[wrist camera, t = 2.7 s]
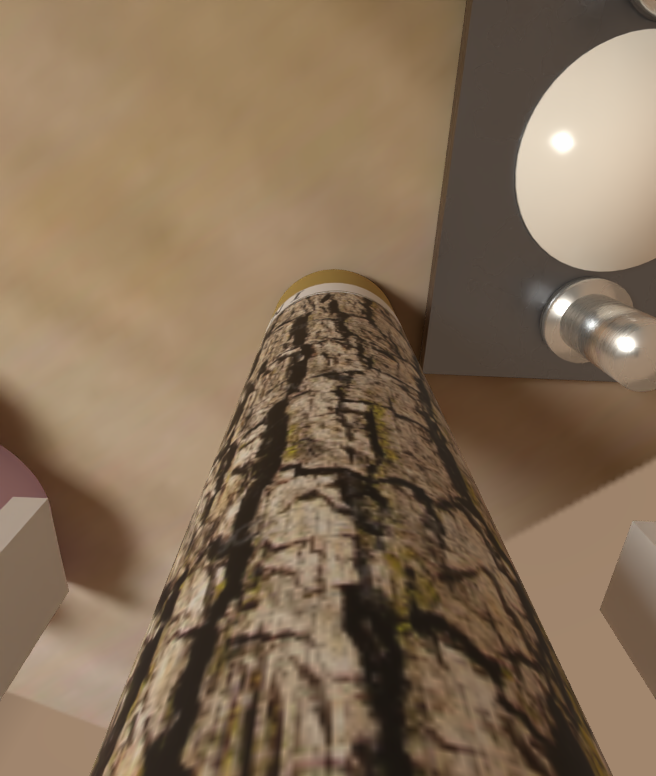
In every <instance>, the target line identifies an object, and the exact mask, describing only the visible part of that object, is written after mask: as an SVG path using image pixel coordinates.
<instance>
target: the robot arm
mask: <svg viewBox="0 0 656 776" xmlns="http://www.w3.org/2000/svg"><path fill="white" fill-rule="evenodd" d="M68 592H69V589H68V585H67V580H66V576H65V571H64V567H63V563H62V558H61V554H60V549H59V545H58V540H57V536H56V532H55V527H54V523H53V518H52V514H51V509H50V505H49V501H48V498H30V497H12V498H11V499H10V500H9V502H8V503H7V504H6V505H5V506H4V507H3V508H2V509H1V510H0V700H1V698H2V697H3V695H4V694H5V692H6V691H7V689H8V687H9V686H10V684H11V683H12V681H13V679H14V678H15V676H16V675H17V673H18V671H19V670H20V668H21V667H22V665H23V663H24V662H25V660H26V659H27V657H28V656H29V654H30V652H31V651H32V649H33V648H34V646H35V644H36V643H37V641H38V640H39V638H40V636H41V635H42V633H43V632H44V630H45V628H46V627H47V625H48V624H49V622H50V620H51V619H52V617H53V616H54V614H55V612H56V611H57V609H58V608H59V606H60V604H61V603H62V601H63V600H64V598H65V597H66V595H67V593H68ZM600 611H601V613H602V614H603V616H604V617H605V619H606V620H607V622H608V624H609V625H610V627H611V628H612V630H613V631H614V633H615V635H616V636H617V638H618V640H619V641H620V643H621V645H622V646H623V648H624V649H625V651H626V652H627V654H628V656H629V657H630V659H631V660H632V662H633V664H634V665H635V667H636V668H637V670H638V672H639V673H640V675H641V677H642V678H643V680H644V681H645V683H646V685H647V686H648V688H649V689H650V691H651V692H652V694H653V696H654V697H655V699H656V522H653V521H632V524H631V527H630V530H629V532H628V535H627V537H626V540H625V543H624V546H623V548H622V551H621V554H620V556H619V559H618V562H617V565H616V567H615V570H614V573H613V575H612V578H611V581H610V584H609V586H608V589H607V592H606V594H605V597H604V600H603V602H602V605H601V608H600Z"/></svg>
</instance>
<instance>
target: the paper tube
mask: <svg viewBox="0 0 656 776" xmlns="http://www.w3.org/2000/svg"><path fill="white" fill-rule="evenodd" d="M401 327H402V326H401V324H400V322H399V320H398V318H397V317H396V315H395V313H394V311H393V309H392V306H391V304H390V302H389V300H388V299H387V297H386V296H385V294H384V293H383V292H382V291H381V290H380V289H379V288H378V287H377V286H376V285H375V284H374V283H373V282H371V281H370V280H368V279H367V278H365V277H363V276H361V275H359V274H356V273H354V272H350V271H346V270H335V269H332V270H323V271H318V272H315V273H312V274H309V275H307V276H305V277H303V278H301V279H300V280H298V281H297V282H295V283H294V284H293V285H292V286H291V287H290V288H289V289H288V290H287V291H286V292H285V293H284V295H283V296H282V297H281V299H280V301H279V302H278V304H277V307H276V309H275V311H274V314H273V316H272V319H271V321H270V323H269V325H268V328H267V330H266V331H267V332H266V333H265V335H264V338H263V340H262V343H261V345H260V348H259V350H258V353H257V355H256V358H255V360H254V363H253V365H252V368H251V370H250V373H249V375H248V378H247V380H246V383H245V385H244V388H243V390H242V393H241V395H240V398H239V401H238V403H237V406H236V408H235V411H234V413H233V416H232V418H231V421H230V423H229V426H228V428H227V431H226V433H225V436H224V438H223V441H222V443H221V446H220V448H219V451H218V453H217V456H216V458H215V461H214V463H213V466H212V468H211V471H210V473H209V476H208V478H207V481H206V484H205V486H204V489H203V491H202V494H201V496H200V499H199V501H198V504H197V506H196V509H195V511H194V514H193V516H192V519H191V521H190V524H189V526H188V529H187V531H186V534H185V536H184V539H183V541H182V544H181V546H180V549H179V551H178V554H177V556H176V559H175V562H174V564H173V567H172V569H171V572H170V574H169V577H168V579H167V582H166V584H165V587H164V589H163V592H162V594H161V597H160V599H159V602H158V604H157V607H156V609H155V612H154V614H153V617H152V619H151V622H150V624H149V627H148V629H147V632H146V634H145V637H144V639H143V642H142V645H141V647H140V650H139V652H138V655H137V657H136V660H135V662H134V665H133V667H132V670H131V672H130V675H129V677H128V680H127V682H126V685H125V687H124V690H123V692H122V695H121V697H120V700H119V702H118V705H117V707H116V710H115V712H114V715H113V717H112V720H111V722H110V725H109V728H108V730H107V733H106V735H105V738H104V740H103V743H102V745H101V748H100V750H99V753H98V756H97V758H96V760H95V763H94V765H93V768H92V770H91V773H90V776H613V775H612V773H611V771H610V769H609V767H608V764H607V762H606V760H605V758H604V756H603V754H602V752H601V749H600V747H599V745H598V743H597V741H596V739H595V737H594V735H593V732H592V730H591V728H590V726H589V724H588V722H587V720H586V718H585V716H584V713H583V711H582V709H581V707H580V705H579V703H578V701H577V698H576V696H575V694H574V692H573V690H572V688H571V686H570V683H569V681H568V680H567V677H566V675H565V673H564V671H563V669H562V667H561V664H560V662H559V660H558V658H557V656H556V654H555V652H554V650H553V647H552V645H551V643H550V641H549V639H548V637H547V635H546V633H545V630H544V628H543V626H542V624H541V622H540V620H539V618H538V616H537V613H536V611H535V609H534V607H533V605H532V603H531V601H530V599H529V596H528V594H527V592H526V590H525V588H524V586H523V584H522V581H521V579H520V577H519V575H518V573H517V571H516V569H515V567H514V565H513V562H512V561H511V558H510V556H509V554H508V552H507V550H506V548H505V545H504V543H503V541H502V539H501V537H500V535H499V533H498V530H497V528H496V526H495V524H494V522H493V520H492V518H491V516H490V513H489V511H488V509H487V507H486V505H485V503H484V501H483V499H482V496H481V494H480V492H479V490H478V488H477V486H476V484H475V482H474V479H473V477H472V475H471V473H470V471H469V469H468V467H467V465H466V462H465V460H464V458H463V456H462V454H461V452H460V450H459V448H458V445H457V443H456V441H455V439H454V437H453V435H452V433H451V431H450V428H449V426H448V424H447V422H446V420H445V418H444V416H443V414H442V411H441V409H440V407H439V405H438V403H437V401H436V399H435V397H434V394H433V392H432V390H431V388H430V386H429V384H428V382H427V380H426V377H425V375H424V373H423V371H422V369H421V367H420V365H419V363H418V360H417V358H416V356H415V354H414V352H413V350H412V348H411V346H410V343H409V341H408V339H407V337H406V335H405V333H404V331H403V329H402V328H401Z"/></svg>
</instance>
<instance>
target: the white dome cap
mask: <svg viewBox="0 0 656 776" xmlns="http://www.w3.org/2000/svg"><path fill="white" fill-rule="evenodd" d="M515 192H516V200H517V204H518V208H519V212H520V215H521V217H522V220H523V222H524V225H525V227H526V228H527V230H528V232H529V233H530V235H531V237H532V238H533V239H534V240H535V242H536V243H537V244H538V245H539V246H540V247H541V248H542V249H543V250H544V251H545V252H546V253H548V254H549V255H550V256H552V257H553V258H555V259H557V260H558V261H560V262H562V263H565V264H567V265H569V266H572V267H575V268H579V269H583V270H588V271H597V272H605V271H617V270H624V269H628V268H631V267H635V266H638V265H641V264H643V263H646V262H649V261H651V260H653V259H655V258H656V29H645V30H639V31H633V32H629V33H626V34H623V35H620V36H617V37H615V38H612V39H610V40H608V41H606V42H604V43H602V44H600V45H598V46H596V47H594V48H593V49H591V50H589V51H588V52H586V53H585V54H583V55H582V56H580V57H579V58H578V59H577V60H575V61H574V62H573V63H572V64H570V65H569V66H568V67H567V68H566V69H565V70H564V71H563V72H562V73H561V74H560V75H559V76H558V77H557V78H556V79H555V80H554V81H553V83H552V84H551V85H550V86H549V88H548V89H547V90H546V91H545V93H544V94H543V96H542V97H541V99H540V100H539V102H538V104H537V105H536V107H535V108H534V110H533V112H532V114H531V116H530V118H529V120H528V122H527V124H526V127H525V130H524V133H523V135H522V138H521V141H520V145H519V149H518V153H517V159H516V167H515Z"/></svg>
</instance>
